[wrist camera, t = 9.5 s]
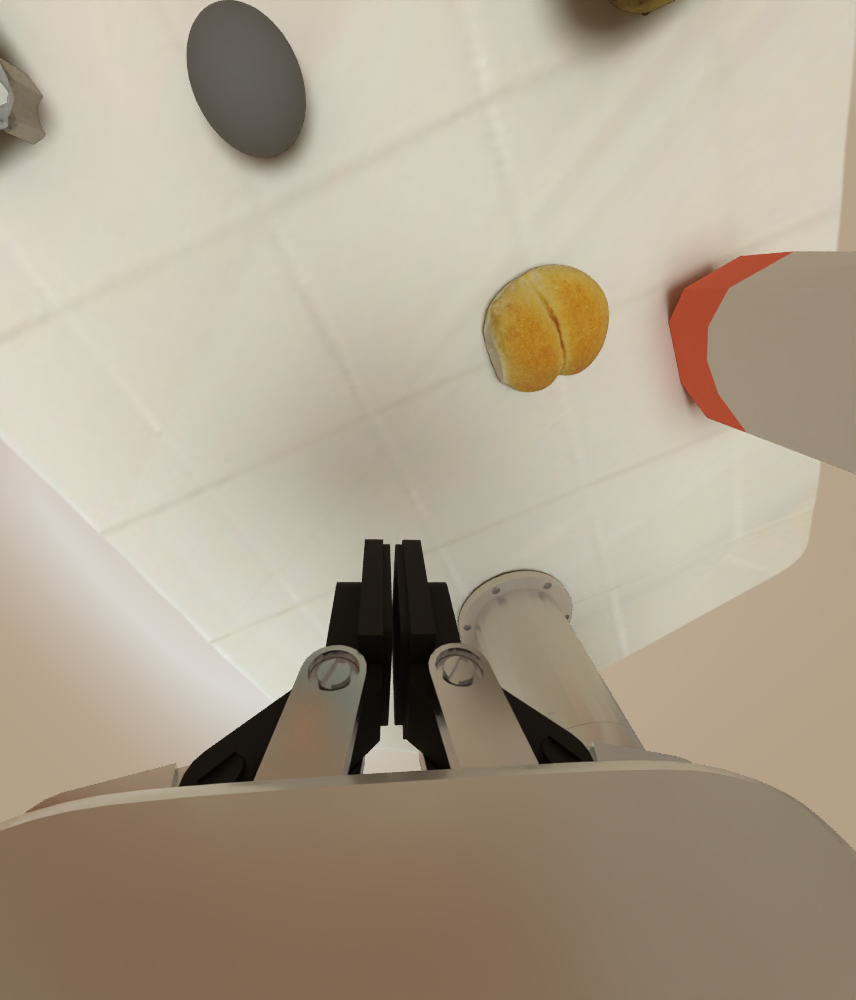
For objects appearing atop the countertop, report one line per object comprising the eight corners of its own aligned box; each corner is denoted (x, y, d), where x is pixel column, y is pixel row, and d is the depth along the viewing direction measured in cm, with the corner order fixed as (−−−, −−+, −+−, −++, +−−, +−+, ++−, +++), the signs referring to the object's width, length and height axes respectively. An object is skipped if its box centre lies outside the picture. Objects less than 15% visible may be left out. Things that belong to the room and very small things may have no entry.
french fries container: (718, 255, 30) (1114, 218, 14) (735, 383, 35) (1039, 462, 19) (660, 289, 30) (978, 289, 15) (685, 410, 35) (941, 508, 20)
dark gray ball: (255, -62, 17) (288, 63, 23) (137, -15, 17) (199, 100, 23) (311, 68, 18) (331, 159, 24) (199, 116, 18) (245, 196, 23)
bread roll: (604, 354, 32) (633, 362, 29) (501, 400, 33) (517, 413, 29) (584, 242, 28) (615, 236, 25) (468, 296, 29) (482, 298, 26)
